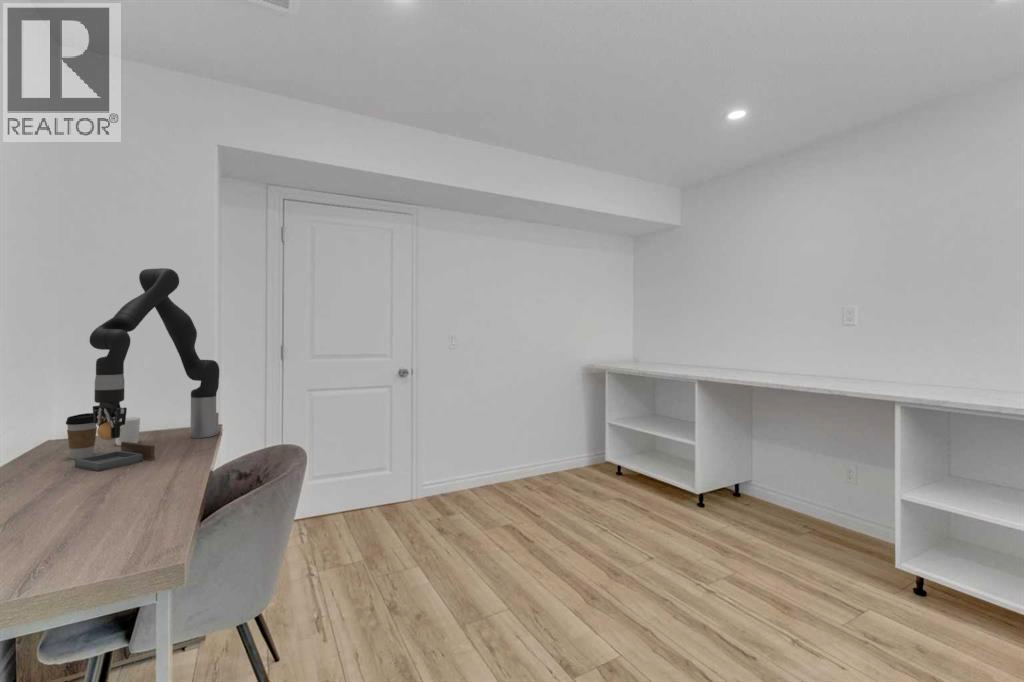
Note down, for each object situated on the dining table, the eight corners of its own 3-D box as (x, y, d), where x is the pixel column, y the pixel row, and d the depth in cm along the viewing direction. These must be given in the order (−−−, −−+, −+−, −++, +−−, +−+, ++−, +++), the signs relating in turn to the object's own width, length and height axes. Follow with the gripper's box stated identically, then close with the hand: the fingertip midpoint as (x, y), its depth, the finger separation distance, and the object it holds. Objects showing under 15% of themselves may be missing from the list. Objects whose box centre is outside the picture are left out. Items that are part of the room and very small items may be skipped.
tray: (119, 457, 159) (119, 450, 159) (142, 461, 155) (142, 454, 155) (74, 467, 147) (74, 459, 147) (98, 471, 143) (98, 463, 143)
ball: (113, 436, 155) (114, 419, 155) (125, 438, 153) (125, 421, 153) (92, 440, 149) (93, 422, 149) (104, 442, 147) (104, 424, 147)
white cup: (118, 442, 180) (118, 417, 180) (142, 440, 184) (142, 416, 184) (110, 446, 173) (110, 421, 173) (136, 445, 177) (136, 420, 176)
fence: (125, 454, 162) (125, 441, 162) (154, 459, 157) (154, 445, 157) (121, 455, 161) (121, 442, 161) (150, 460, 156) (150, 446, 156)
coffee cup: (104, 454, 163) (104, 413, 163) (80, 460, 154) (80, 417, 154) (84, 453, 164) (84, 412, 164) (58, 459, 155) (58, 416, 155)
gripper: (136, 387, 152) (135, 436, 152) (109, 385, 157) (108, 433, 157) (110, 390, 145) (109, 441, 145) (82, 387, 149) (82, 437, 150)
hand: (109, 437), depth 151 cm, fingers closed on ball, 6 cm apart
